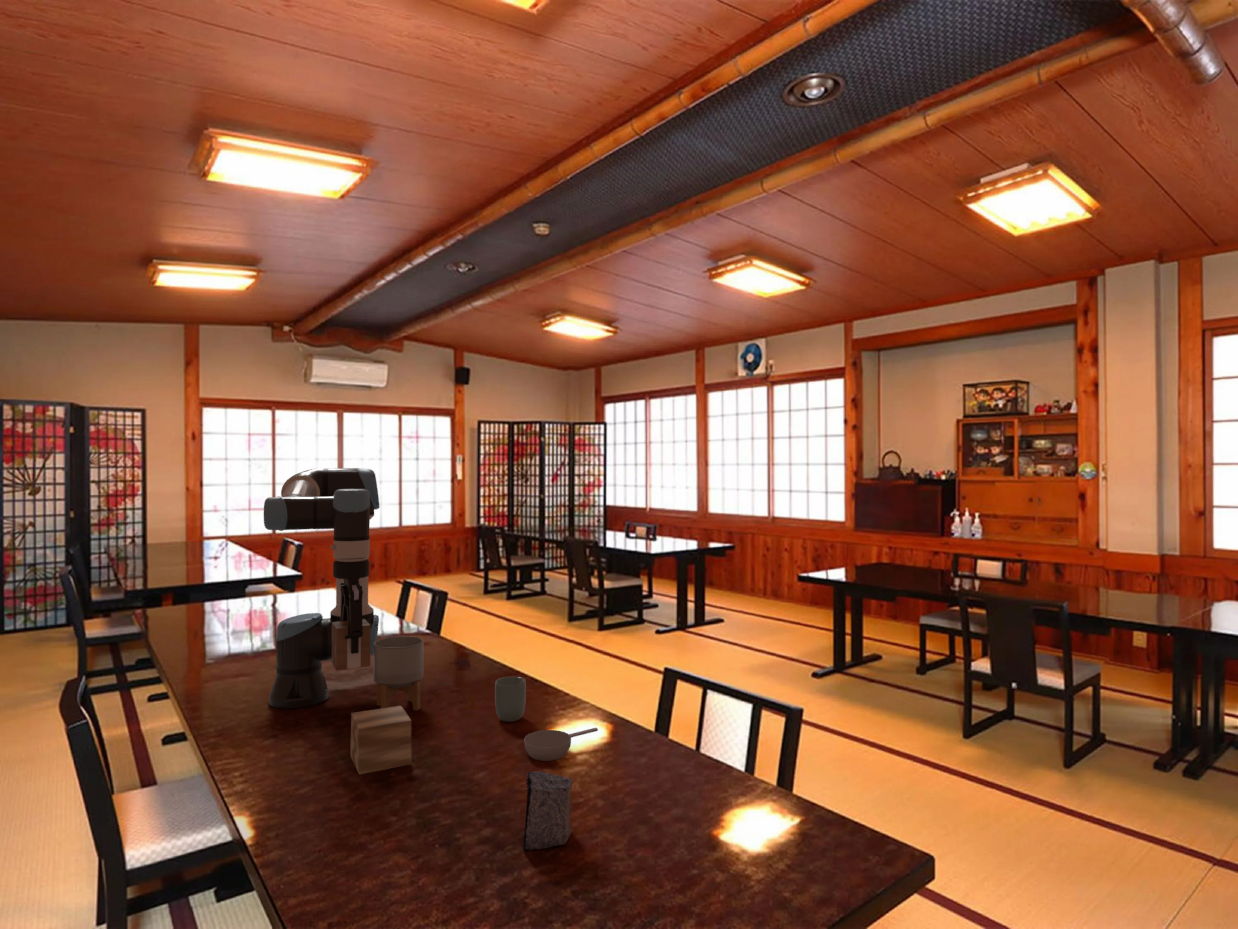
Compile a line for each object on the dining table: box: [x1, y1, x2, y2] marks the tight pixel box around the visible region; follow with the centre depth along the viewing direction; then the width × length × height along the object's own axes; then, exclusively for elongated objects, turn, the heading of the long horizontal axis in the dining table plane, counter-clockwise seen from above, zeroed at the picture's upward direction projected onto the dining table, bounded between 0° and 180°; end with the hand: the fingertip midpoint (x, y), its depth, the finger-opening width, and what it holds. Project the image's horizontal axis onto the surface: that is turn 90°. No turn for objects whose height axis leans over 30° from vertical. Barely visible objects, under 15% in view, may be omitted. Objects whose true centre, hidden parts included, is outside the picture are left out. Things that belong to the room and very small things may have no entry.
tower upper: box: [350, 705, 412, 752], centre depth 161 cm, size 11×11×5 cm
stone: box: [522, 771, 573, 851], centre depth 128 cm, size 12×10×10 cm
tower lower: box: [349, 735, 412, 775], centre depth 161 cm, size 11×11×5 cm
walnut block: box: [331, 619, 371, 672], centre depth 159 cm, size 7×7×9 cm
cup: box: [494, 676, 527, 723], centre depth 188 cm, size 8×8×10 cm
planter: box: [373, 635, 424, 711], centre depth 197 cm, size 13×13×18 cm
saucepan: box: [523, 727, 599, 762], centre depth 168 cm, size 11×18×4 cm, turn 117°
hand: (350, 663), depth 159 cm, fingers closed on walnut block, 7 cm apart
